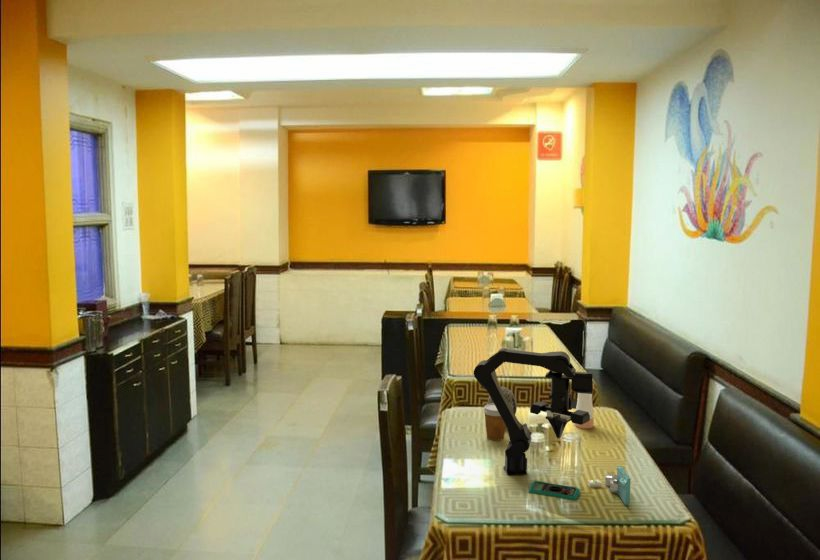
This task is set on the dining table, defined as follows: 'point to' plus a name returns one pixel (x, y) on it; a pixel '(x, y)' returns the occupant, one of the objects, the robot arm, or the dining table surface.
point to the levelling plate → (598, 483)
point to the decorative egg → (509, 397)
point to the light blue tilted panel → (621, 485)
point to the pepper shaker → (585, 408)
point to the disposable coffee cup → (494, 422)
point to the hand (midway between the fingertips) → (558, 437)
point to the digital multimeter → (554, 490)
